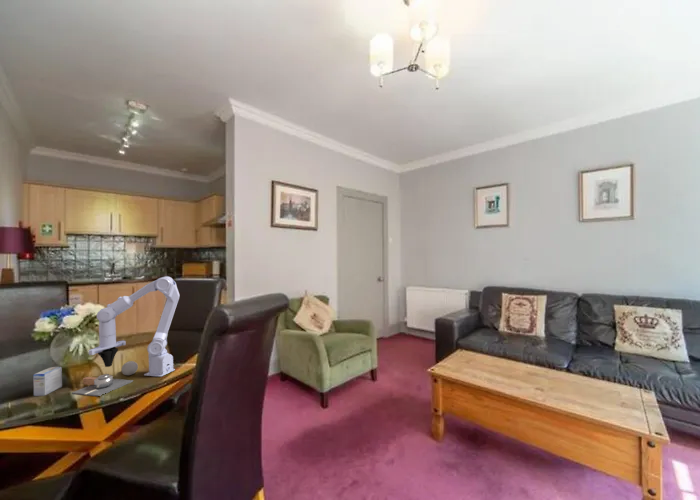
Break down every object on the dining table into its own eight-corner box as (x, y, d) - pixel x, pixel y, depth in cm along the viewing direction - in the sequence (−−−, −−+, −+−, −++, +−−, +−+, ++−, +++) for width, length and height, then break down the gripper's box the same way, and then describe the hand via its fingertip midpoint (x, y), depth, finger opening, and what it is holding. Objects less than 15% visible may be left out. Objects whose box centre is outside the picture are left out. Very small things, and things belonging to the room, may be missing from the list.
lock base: (133, 381, 132) (133, 380, 132) (99, 396, 118) (99, 395, 118) (107, 379, 135) (107, 378, 135) (72, 393, 122) (72, 392, 122)
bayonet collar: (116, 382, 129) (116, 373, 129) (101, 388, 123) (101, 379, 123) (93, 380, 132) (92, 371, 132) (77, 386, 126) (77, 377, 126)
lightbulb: (120, 376, 143) (124, 378, 136) (116, 363, 143) (121, 365, 136) (135, 370, 148) (140, 372, 140) (132, 358, 148) (137, 359, 140)
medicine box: (51, 387, 129) (50, 367, 129) (62, 386, 129) (61, 366, 129) (33, 396, 121) (32, 374, 121) (45, 395, 121) (44, 373, 121)
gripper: (116, 330, 142) (117, 360, 142) (82, 339, 128) (83, 371, 128) (128, 331, 140) (129, 360, 140) (95, 340, 126) (96, 373, 126)
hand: (108, 366), depth 134 cm, fingers closed
